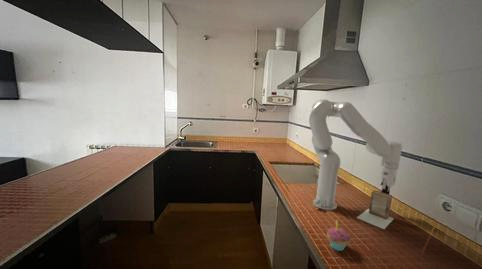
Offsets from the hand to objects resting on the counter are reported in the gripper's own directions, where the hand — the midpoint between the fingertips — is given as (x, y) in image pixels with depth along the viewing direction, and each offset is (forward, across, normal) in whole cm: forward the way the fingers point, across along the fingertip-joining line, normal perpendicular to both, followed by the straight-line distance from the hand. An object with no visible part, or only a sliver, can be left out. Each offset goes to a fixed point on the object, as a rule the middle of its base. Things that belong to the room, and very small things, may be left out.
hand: (384, 197), depth 110 cm
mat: (+9, -12, 0) cm, 15 cm away
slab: (+8, -7, 0) cm, 10 cm away
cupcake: (+9, -50, +2) cm, 51 cm away
